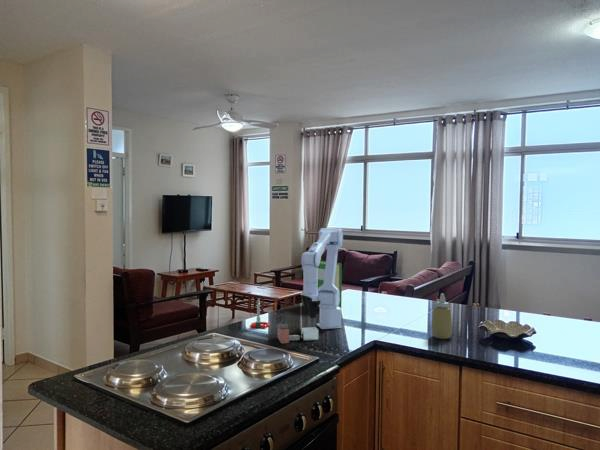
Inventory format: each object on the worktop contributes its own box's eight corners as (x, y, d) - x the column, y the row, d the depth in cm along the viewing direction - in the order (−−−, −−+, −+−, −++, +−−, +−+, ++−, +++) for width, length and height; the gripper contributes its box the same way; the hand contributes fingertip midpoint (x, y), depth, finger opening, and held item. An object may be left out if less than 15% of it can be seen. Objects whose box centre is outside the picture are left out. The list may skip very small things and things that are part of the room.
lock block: (315, 336, 176) (315, 327, 176) (318, 339, 173) (318, 329, 172) (301, 337, 175) (301, 327, 175) (303, 340, 171) (303, 330, 171)
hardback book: (341, 308, 229) (341, 263, 229) (330, 310, 225) (331, 264, 224) (320, 302, 243) (321, 260, 243) (310, 304, 239) (310, 261, 238)
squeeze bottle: (452, 335, 179) (452, 292, 179) (452, 341, 172) (453, 296, 171) (431, 333, 182) (432, 291, 182) (431, 338, 174) (431, 294, 174)
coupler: (296, 336, 177) (296, 321, 176) (301, 342, 169) (301, 327, 169) (276, 337, 175) (276, 323, 174) (280, 343, 167) (280, 328, 167)
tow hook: (253, 323, 198) (248, 328, 189) (254, 295, 199) (249, 298, 190) (271, 324, 197) (267, 329, 188) (272, 296, 197) (267, 299, 188)
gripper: (296, 279, 179) (296, 311, 180) (304, 285, 165) (304, 320, 166) (313, 278, 181) (313, 311, 181) (322, 284, 167) (322, 319, 167)
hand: (310, 315), depth 174 cm, fingers open, 7 cm apart
